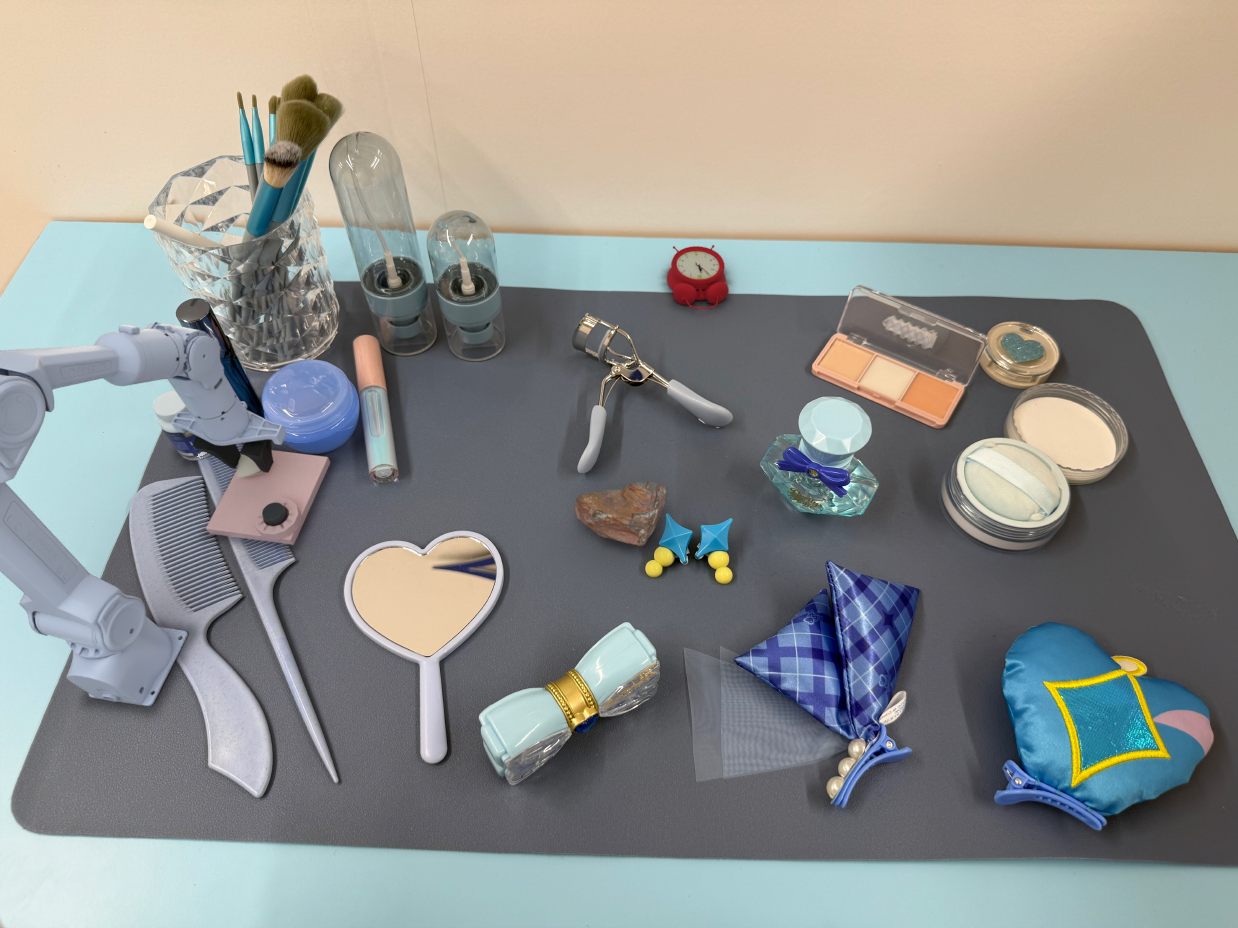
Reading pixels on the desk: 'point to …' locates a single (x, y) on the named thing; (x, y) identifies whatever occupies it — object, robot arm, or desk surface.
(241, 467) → the beige teardrop
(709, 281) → the alarm clock
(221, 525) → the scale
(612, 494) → the stone
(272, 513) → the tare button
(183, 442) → the pill bottle
